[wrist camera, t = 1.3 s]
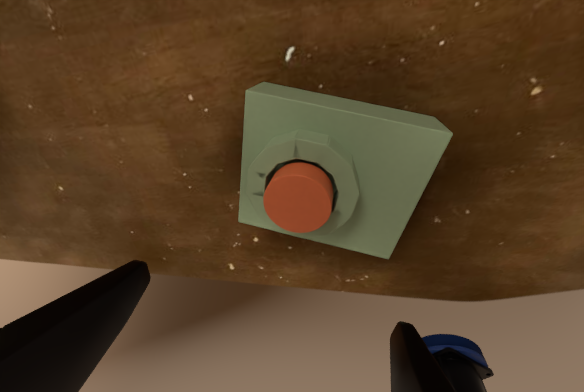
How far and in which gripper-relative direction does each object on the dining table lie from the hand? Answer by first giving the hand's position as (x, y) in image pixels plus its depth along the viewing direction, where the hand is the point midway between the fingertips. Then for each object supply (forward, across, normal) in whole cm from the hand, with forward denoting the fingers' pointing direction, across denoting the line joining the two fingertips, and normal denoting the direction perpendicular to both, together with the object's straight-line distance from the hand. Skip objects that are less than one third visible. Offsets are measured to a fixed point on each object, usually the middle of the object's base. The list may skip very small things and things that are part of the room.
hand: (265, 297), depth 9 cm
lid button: (+8, 0, 0) cm, 8 cm away
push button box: (+13, -2, 0) cm, 13 cm away
